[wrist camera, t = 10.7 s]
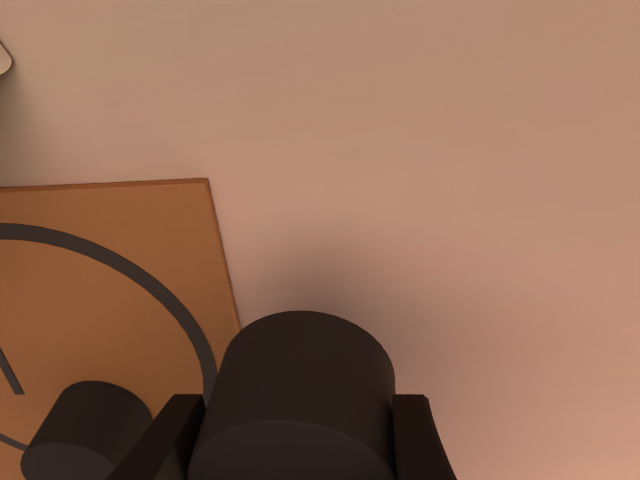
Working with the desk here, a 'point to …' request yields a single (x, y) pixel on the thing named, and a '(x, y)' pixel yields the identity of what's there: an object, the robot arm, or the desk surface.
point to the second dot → (299, 404)
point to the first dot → (85, 433)
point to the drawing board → (107, 297)
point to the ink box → (4, 60)
